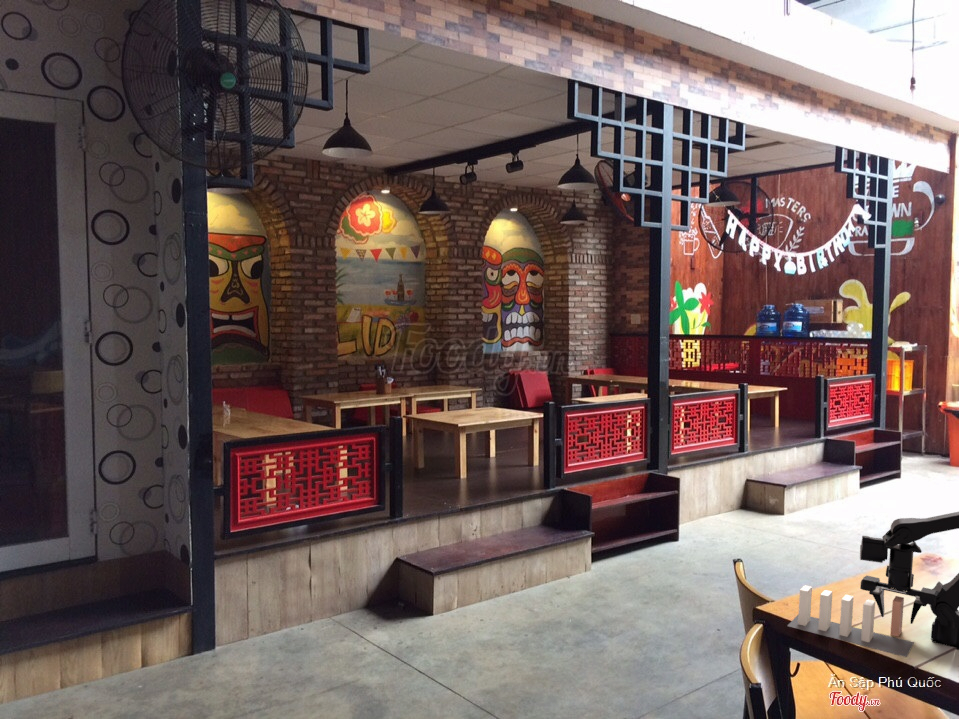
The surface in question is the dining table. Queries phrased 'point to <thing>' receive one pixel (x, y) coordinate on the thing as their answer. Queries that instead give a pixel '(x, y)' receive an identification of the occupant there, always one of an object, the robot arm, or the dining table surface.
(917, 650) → the dining table surface
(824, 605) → the ivory domino
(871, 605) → the ivory domino
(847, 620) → the ivory domino
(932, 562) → the dining table surface
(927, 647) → the dining table surface
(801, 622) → the ivory domino
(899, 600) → the terracotta domino
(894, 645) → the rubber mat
